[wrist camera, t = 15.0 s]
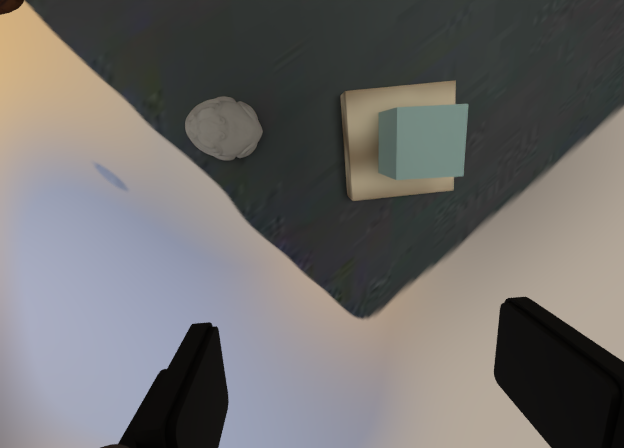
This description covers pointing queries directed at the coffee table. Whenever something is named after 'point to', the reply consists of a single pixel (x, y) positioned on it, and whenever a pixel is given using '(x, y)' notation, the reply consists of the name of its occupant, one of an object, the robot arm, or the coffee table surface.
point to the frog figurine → (224, 128)
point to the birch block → (365, 138)
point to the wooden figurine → (9, 5)
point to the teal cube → (422, 141)
